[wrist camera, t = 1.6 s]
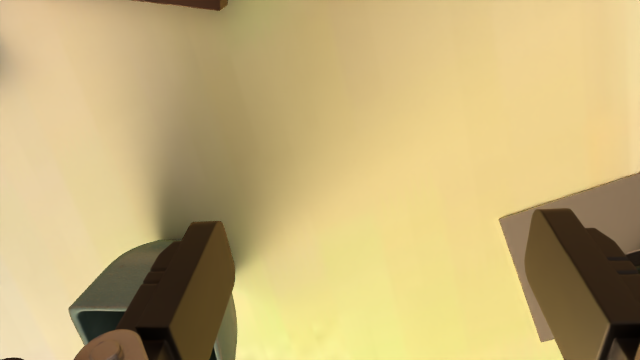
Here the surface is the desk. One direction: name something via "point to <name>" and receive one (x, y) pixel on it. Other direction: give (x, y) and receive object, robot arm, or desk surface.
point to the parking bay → (193, 3)
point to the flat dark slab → (593, 212)
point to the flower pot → (120, 288)
